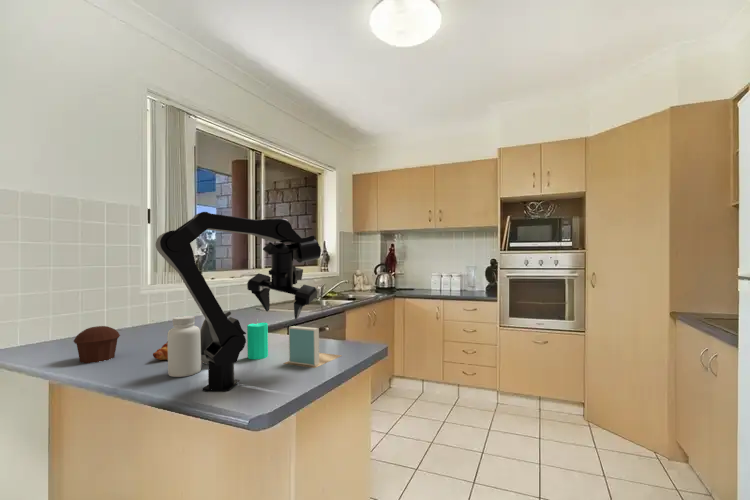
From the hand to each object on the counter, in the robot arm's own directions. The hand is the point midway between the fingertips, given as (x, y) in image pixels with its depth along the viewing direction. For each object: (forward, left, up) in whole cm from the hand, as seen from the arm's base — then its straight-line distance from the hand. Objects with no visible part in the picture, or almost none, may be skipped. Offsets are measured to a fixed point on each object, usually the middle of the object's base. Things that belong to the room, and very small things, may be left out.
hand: (282, 314), depth 107 cm
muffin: (+8, +61, -15) cm, 63 cm away
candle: (+7, +10, -15) cm, 19 cm away
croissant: (+13, +36, -15) cm, 41 cm away
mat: (+4, -8, -14) cm, 17 cm away
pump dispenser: (+3, +21, -15) cm, 26 cm away
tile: (0, -6, -14) cm, 15 cm away
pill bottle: (-7, +25, -15) cm, 29 cm away
